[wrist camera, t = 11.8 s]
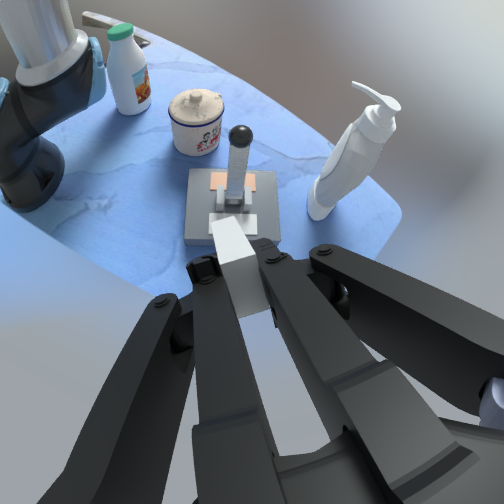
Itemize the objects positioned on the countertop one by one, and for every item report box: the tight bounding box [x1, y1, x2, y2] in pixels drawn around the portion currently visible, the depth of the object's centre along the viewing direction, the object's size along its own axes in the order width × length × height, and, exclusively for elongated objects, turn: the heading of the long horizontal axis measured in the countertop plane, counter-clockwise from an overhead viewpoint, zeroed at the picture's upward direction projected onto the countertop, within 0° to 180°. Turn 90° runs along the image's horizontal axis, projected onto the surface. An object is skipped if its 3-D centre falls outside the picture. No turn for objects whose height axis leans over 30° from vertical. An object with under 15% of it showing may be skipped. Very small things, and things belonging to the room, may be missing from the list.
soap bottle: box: [307, 81, 401, 221], centre depth 36 cm, size 13×8×24 cm, turn 157°
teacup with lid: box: [168, 89, 224, 156], centre depth 43 cm, size 12×9×12 cm
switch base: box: [184, 168, 281, 247], centre depth 42 cm, size 12×14×5 cm
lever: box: [225, 125, 253, 205], centre depth 36 cm, size 3×3×13 cm
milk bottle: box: [107, 23, 152, 115], centre depth 40 cm, size 8×8×20 cm
